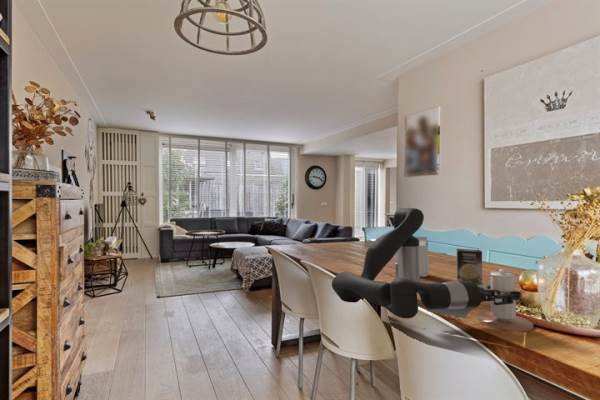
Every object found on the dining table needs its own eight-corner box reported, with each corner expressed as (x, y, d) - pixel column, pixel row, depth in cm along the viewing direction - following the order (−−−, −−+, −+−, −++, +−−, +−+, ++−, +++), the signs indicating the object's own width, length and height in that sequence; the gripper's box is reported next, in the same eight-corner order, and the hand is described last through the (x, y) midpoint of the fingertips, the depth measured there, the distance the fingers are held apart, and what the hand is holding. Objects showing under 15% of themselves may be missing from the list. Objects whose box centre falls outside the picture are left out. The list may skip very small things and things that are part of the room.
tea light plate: (472, 324, 91) (472, 313, 91) (479, 311, 102) (479, 301, 102) (533, 336, 82) (533, 324, 82) (533, 320, 94) (533, 309, 94)
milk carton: (426, 277, 151) (425, 237, 151) (410, 275, 155) (410, 236, 155) (428, 274, 157) (428, 236, 157) (414, 273, 161) (413, 235, 161)
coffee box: (456, 290, 128) (456, 250, 128) (456, 286, 133) (455, 248, 134) (483, 292, 124) (482, 251, 124) (481, 288, 130) (480, 249, 130)
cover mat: (426, 312, 101) (426, 310, 101) (435, 303, 110) (435, 302, 110) (465, 319, 95) (465, 317, 95) (470, 309, 104) (470, 308, 104)
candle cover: (489, 316, 92) (489, 269, 92) (492, 310, 96) (491, 266, 97) (515, 320, 88) (514, 272, 88) (516, 314, 93) (515, 268, 93)
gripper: (443, 300, 97) (492, 297, 100) (475, 316, 83) (532, 313, 85) (442, 276, 97) (491, 274, 100) (475, 288, 83) (531, 285, 86)
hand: (510, 292), depth 93 cm, fingers closed on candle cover, 6 cm apart
